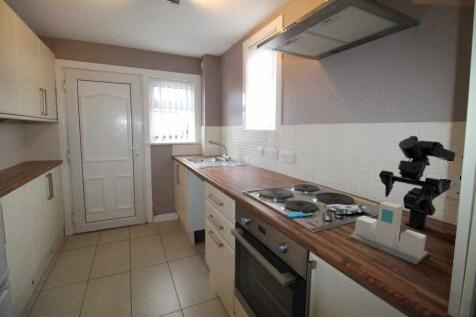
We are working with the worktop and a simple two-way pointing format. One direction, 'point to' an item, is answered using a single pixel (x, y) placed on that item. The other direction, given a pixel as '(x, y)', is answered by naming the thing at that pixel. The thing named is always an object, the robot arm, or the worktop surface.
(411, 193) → the robot arm
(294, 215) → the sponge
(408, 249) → the board
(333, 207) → the gun
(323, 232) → the worktop surface
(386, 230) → the block
